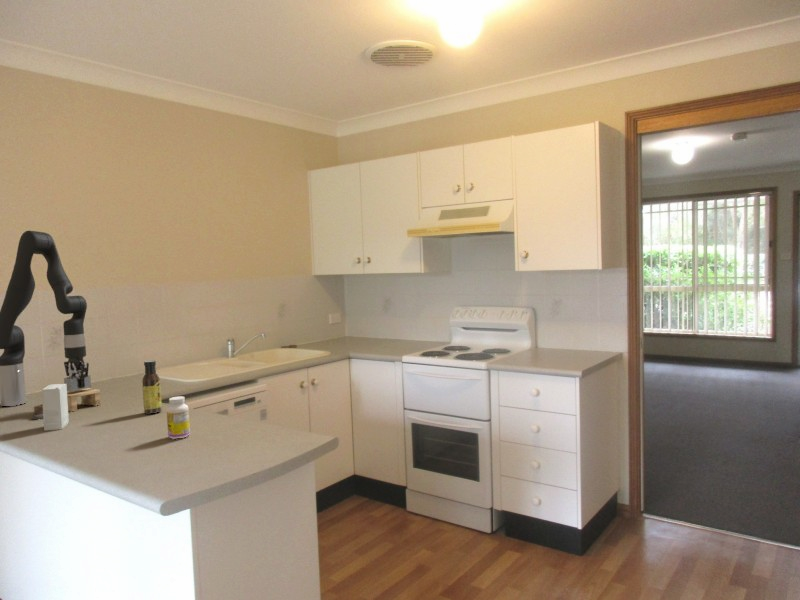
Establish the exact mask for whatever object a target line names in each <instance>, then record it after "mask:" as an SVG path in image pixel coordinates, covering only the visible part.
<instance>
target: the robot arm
mask: <svg viewBox="0 0 800 600" xmlns="http://www.w3.org/2000/svg"><path fill="white" fill-rule="evenodd" d="M34 255H42V256H43V257H44V259H45V260H46V263H47V269H46V279H47V281H48V284H49V286H50V287H51V290H52V291H53V295H54V299H55V305H56V309H57V311H59V313H61V314H62V315H70V314H72V316H71V318H70V319H66V320H65V321H64V322H63V324H62V325H63V348H64V357H65V359H68V360H66V361H64V362H63V366H64V369H65V374H66V375H65V376H66V377H73V376H77V377H78V386H79V388H84V387H85V381H84V378H85V377H88V375H89V368H90V367H89V365H90V363H89V362H85V360H84V358H85V357H86V356H87V347H86V338H85V337H86V336H85V329H84V321H85V317H86V313H87V308H88V303H87V301H86V299H85V297H84V296H82V295H69V294H71V293H72V292H73V290H74V286H73V284H72V283H71V281H70V279H69V276H68V275H67V273H66V271H65V270H64V267H63V264H62V261H61V257H60V255H59V252H58V248H57V246H56V243H55V240H54V238H53V236H52V235H50V233H47V232H43V231H37V230H35V231H34V230H25V231H24V232H23V233H21V236H20V238H19V241H18V246H17V251H16V257H15V261H14V266H13V270H12V272H11V277H10V279H9V282H8V285H7V287H6V291H5V295H4V299H3V302H2V305H1V309H0V350H3V352H2V354H1V355H0V405H1V406H0V407H2V406H10V407H16V405H17V406H20V404H22V405H24V403H25V404H26V403H27V395H26V394H27V391H26V381H25V380H26V379H25V369H24V368H25V367H24V359H25V358H24V357H25V355H26V354H25V353H26V350H25V349H26V347H25V334H24V331H23V329H22V328H21V327H20V326H18V325H15V323H16V321H17V320H18V318H19V316H20V315H21V314H22V312H23V311H24V310H25V309H27V306H28V305H29V304H30V302H31V301H32V298H33V295H34V292H35V288H36V282H35V278H34V274H33V272H32V261H33V257H34Z"/></svg>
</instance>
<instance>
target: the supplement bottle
mask: <svg viewBox="0 0 800 600" xmlns="http://www.w3.org/2000/svg"><path fill="white" fill-rule="evenodd" d="M168 402H169V406H167V408H166V421H167V435H168V438H169V437H170V438H180V437H185V436H187V435H189V434H190V435H191V429H190V412H189V410H190V409H189V406H188V405H187V404H185V396H173V397H170V398H168ZM190 435H189V436H190ZM170 438H169V439H170Z"/></svg>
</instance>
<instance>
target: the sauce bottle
mask: <svg viewBox="0 0 800 600" xmlns="http://www.w3.org/2000/svg"><path fill="white" fill-rule="evenodd" d="M143 363H144V364H143V365H144V373H145V374H144V376H143V377H142V381H141V382H142V399H143V409H144V414H145V413H146V415H152V414H151V413H155V414H158V413H157V412H159V413H161V412H162V407H163V406H162V392H161V391H162V389H161V379H160V377H159V375H158V374H157V368H156V363H157V362H156V360H145V361H144V362H143ZM160 411H161V412H160Z"/></svg>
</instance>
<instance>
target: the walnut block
mask: <svg viewBox="0 0 800 600" xmlns="http://www.w3.org/2000/svg"><path fill="white" fill-rule="evenodd" d="M33 412H34V415H37V414H43V403H42V404H38V405H35V406H34V407H33Z"/></svg>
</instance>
